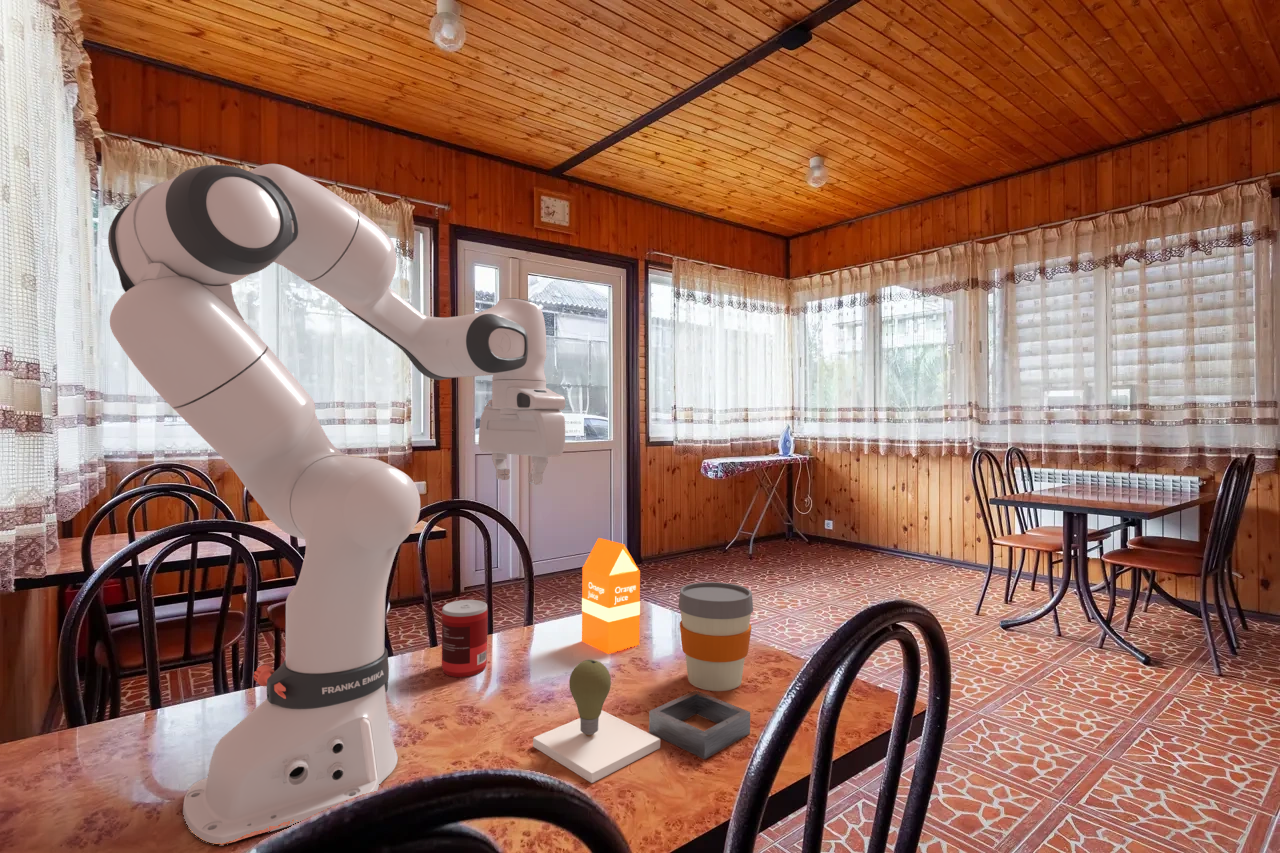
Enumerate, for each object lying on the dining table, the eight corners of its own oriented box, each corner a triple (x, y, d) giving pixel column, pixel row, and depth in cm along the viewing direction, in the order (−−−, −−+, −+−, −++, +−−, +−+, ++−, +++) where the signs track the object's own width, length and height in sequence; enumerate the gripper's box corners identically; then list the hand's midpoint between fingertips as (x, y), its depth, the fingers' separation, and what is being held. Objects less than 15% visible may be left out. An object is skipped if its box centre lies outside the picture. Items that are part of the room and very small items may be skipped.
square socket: (704, 759, 83) (704, 736, 83) (649, 732, 90) (649, 710, 90) (749, 733, 90) (750, 712, 90) (695, 709, 97) (695, 690, 97)
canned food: (483, 658, 117) (484, 597, 117) (490, 674, 110) (490, 610, 110) (439, 663, 115) (440, 601, 114) (443, 680, 107) (443, 614, 107)
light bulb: (613, 726, 89) (614, 654, 89) (606, 746, 84) (607, 670, 84) (573, 723, 90) (574, 652, 90) (564, 743, 85) (565, 667, 84)
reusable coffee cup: (672, 692, 104) (674, 599, 103) (681, 662, 116) (682, 579, 116) (752, 699, 101) (753, 604, 101) (752, 668, 114) (753, 583, 114)
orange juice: (612, 633, 132) (613, 535, 131) (640, 645, 125) (641, 542, 124) (580, 641, 127) (581, 539, 126) (607, 654, 120) (608, 547, 119)
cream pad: (591, 783, 78) (592, 773, 78) (533, 746, 86) (533, 737, 86) (660, 747, 86) (660, 738, 86) (600, 717, 95) (600, 709, 95)
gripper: (469, 399, 112) (469, 478, 113) (540, 397, 98) (539, 488, 98) (500, 400, 117) (500, 476, 117) (572, 398, 102) (571, 485, 103)
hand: (518, 481), depth 108 cm, fingers open, 8 cm apart
